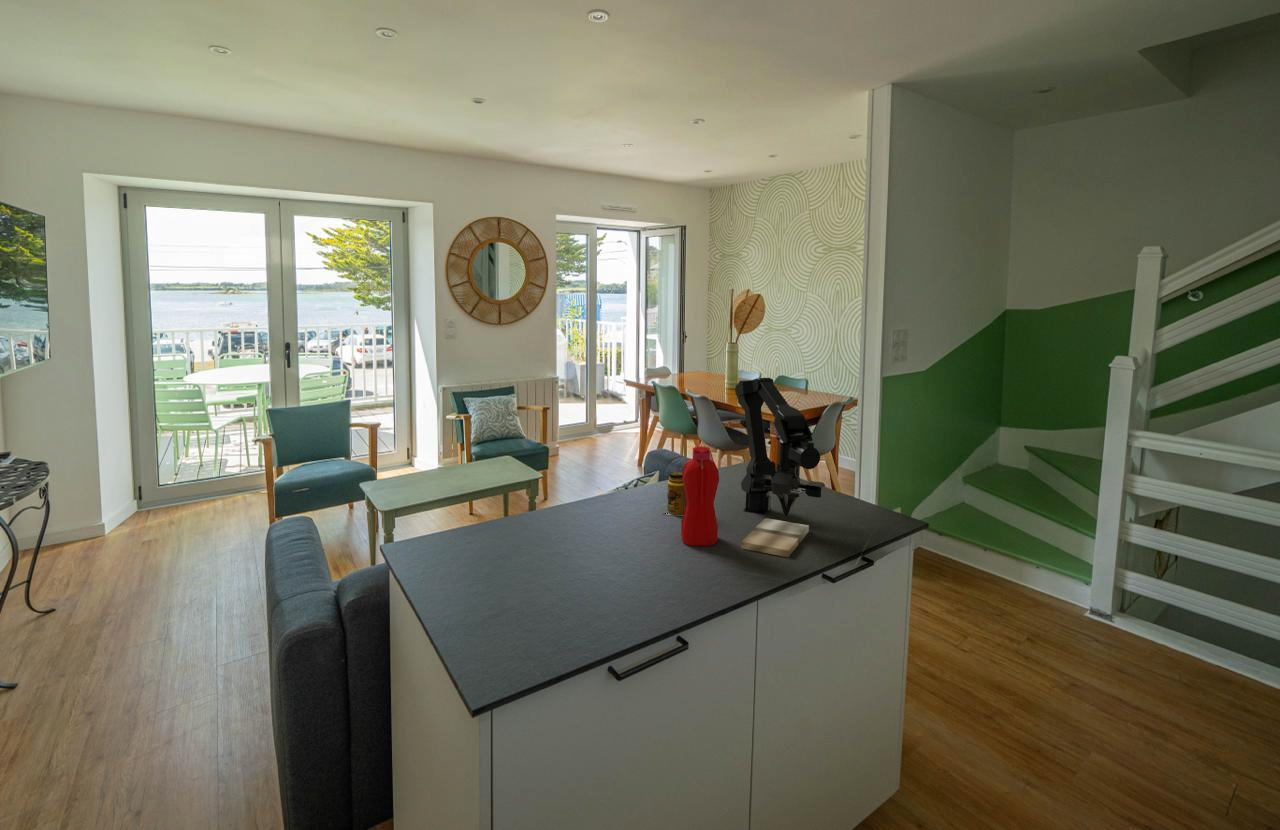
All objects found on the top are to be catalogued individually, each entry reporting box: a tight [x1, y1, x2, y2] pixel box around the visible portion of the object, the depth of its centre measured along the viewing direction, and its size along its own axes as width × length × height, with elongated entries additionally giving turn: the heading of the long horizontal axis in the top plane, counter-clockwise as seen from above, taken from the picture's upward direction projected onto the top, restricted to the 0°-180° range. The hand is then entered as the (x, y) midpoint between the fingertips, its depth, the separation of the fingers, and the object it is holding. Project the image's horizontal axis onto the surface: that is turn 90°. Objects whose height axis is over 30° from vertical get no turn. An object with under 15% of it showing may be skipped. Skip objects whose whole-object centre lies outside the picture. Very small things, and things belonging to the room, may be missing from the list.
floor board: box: [740, 529, 800, 558], centre depth 165 cm, size 12×10×2 cm
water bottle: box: [680, 446, 720, 547], centre depth 166 cm, size 9×11×25 cm
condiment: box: [665, 470, 686, 517], centre depth 191 cm, size 7×8×12 cm
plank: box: [755, 517, 810, 543], centre depth 174 cm, size 12×9×2 cm
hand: (786, 515), depth 177 cm, fingers closed
